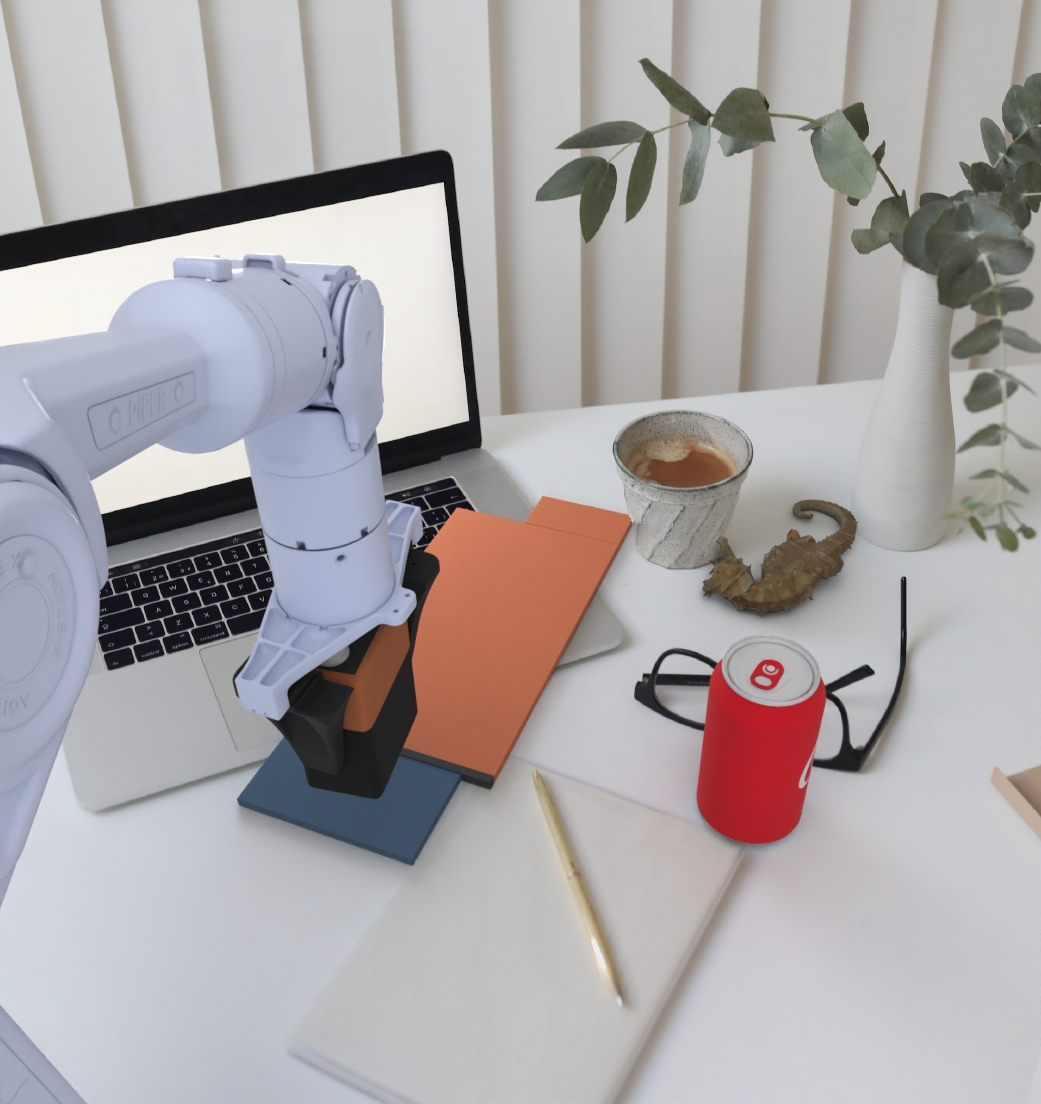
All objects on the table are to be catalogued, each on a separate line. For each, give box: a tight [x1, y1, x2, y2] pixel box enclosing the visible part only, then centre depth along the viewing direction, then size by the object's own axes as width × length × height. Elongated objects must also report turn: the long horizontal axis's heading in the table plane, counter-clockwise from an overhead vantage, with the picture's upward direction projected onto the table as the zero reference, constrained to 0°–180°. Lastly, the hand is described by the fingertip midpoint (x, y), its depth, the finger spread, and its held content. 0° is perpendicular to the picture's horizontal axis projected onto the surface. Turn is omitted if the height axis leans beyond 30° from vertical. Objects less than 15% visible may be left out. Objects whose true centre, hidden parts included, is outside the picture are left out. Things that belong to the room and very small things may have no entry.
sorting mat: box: [236, 495, 633, 866], centre depth 76 cm, size 36×14×1 cm, turn 158°
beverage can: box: [696, 634, 827, 845], centre depth 61 cm, size 6×6×12 cm
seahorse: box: [702, 499, 859, 618], centre depth 81 cm, size 9×16×3 cm, turn 126°
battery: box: [304, 620, 418, 799], centre depth 57 cm, size 4×7×10 cm, turn 166°
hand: (358, 714), depth 58 cm, fingers closed on battery, 7 cm apart
